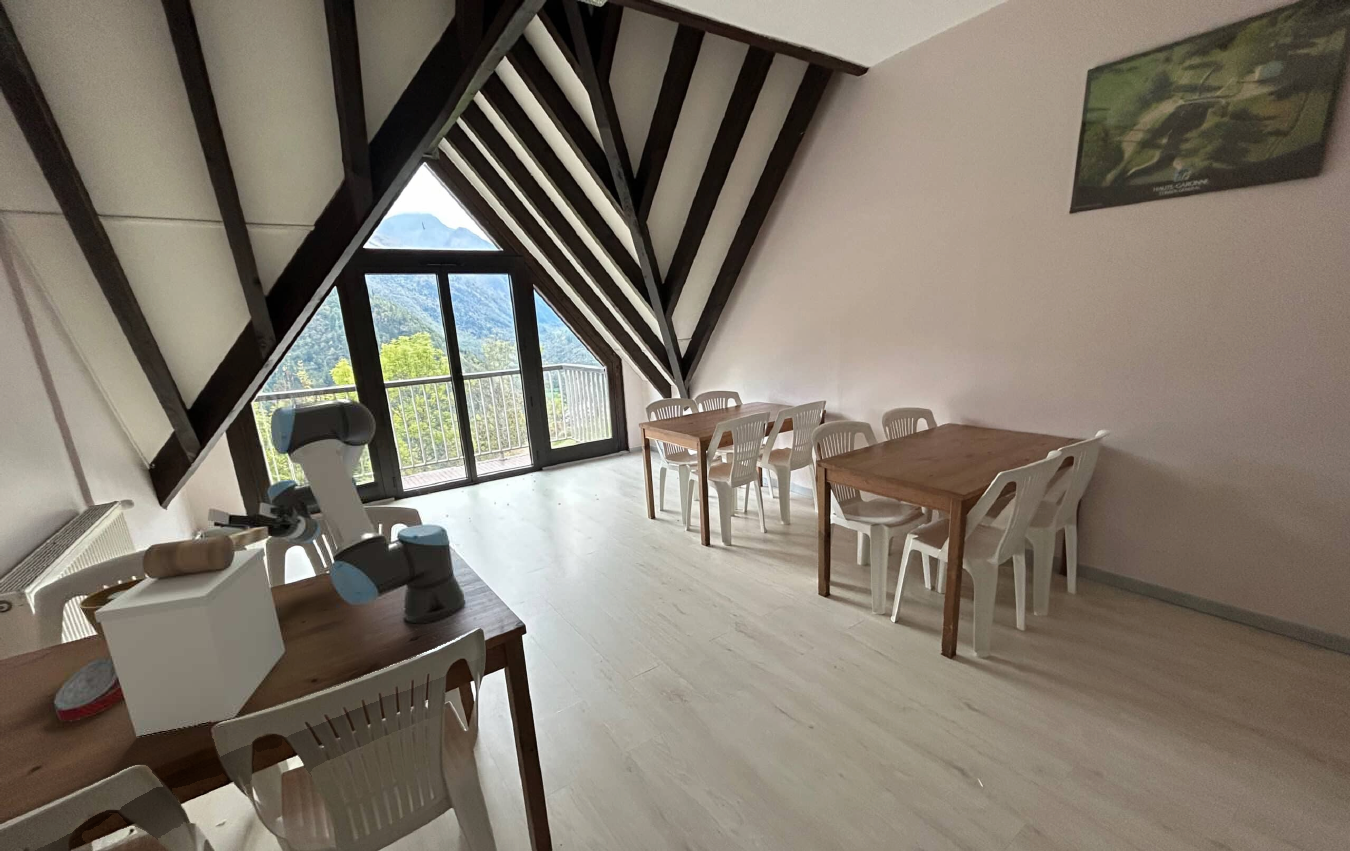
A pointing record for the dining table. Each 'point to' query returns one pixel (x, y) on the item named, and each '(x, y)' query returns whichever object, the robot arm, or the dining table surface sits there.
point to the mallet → (197, 553)
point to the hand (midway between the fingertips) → (236, 511)
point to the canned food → (89, 690)
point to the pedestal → (193, 643)
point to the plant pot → (103, 603)
